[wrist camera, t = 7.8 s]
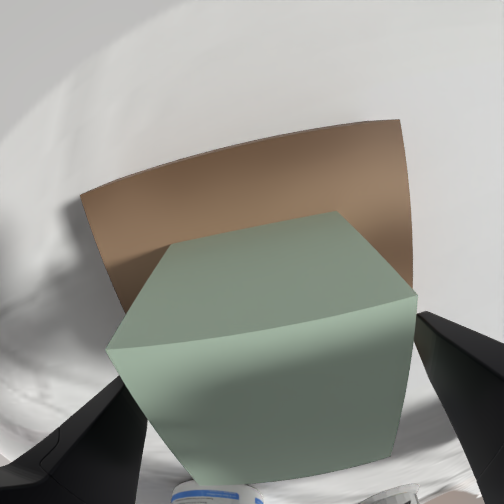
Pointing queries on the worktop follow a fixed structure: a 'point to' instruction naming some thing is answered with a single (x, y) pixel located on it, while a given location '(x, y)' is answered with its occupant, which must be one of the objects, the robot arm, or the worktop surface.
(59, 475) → the robot arm
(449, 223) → the worktop surface
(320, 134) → the walnut block
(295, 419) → the sage cube
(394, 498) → the french press
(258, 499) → the supplement tub
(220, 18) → the worktop surface
